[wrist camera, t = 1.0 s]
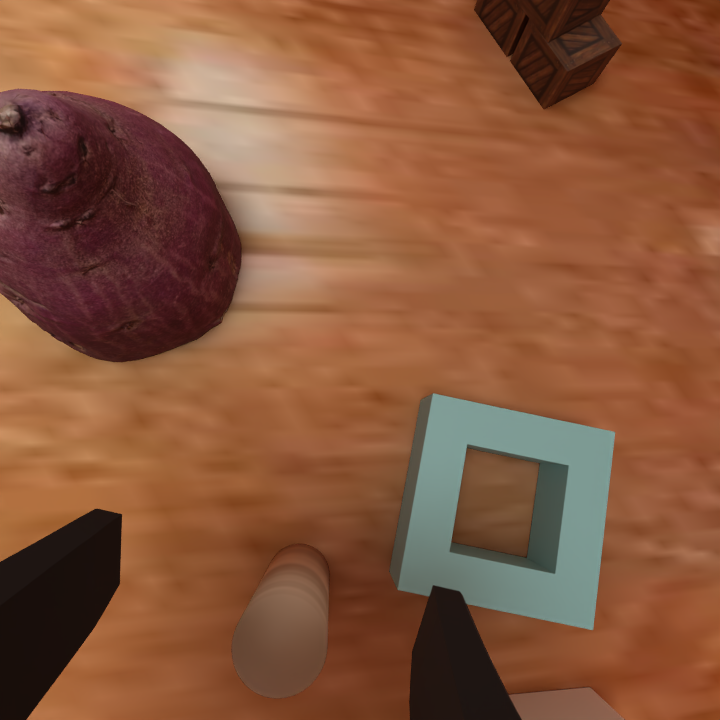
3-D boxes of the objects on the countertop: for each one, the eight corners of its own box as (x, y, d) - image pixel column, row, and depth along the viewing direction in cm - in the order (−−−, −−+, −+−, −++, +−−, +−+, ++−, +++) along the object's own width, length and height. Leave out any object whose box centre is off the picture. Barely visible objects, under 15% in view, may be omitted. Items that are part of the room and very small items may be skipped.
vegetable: (278, 282, 28) (364, 164, 14) (124, 405, 25) (35, 414, 11) (148, 127, 27) (97, -182, 12) (-33, 240, 24) (-372, 1, 9)
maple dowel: (322, 615, 22) (316, 707, 14) (260, 602, 22) (220, 688, 14) (335, 550, 23) (336, 605, 15) (275, 538, 23) (244, 586, 15)
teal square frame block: (559, 606, 23) (593, 630, 20) (389, 571, 23) (397, 589, 20) (580, 434, 24) (615, 432, 21) (420, 399, 24) (432, 393, 21)
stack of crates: (331, 19, 28) (330, -114, 22) (545, -79, 30) (606, -230, 24) (471, 236, 26) (519, 164, 20) (690, 116, 28) (800, 14, 22)
